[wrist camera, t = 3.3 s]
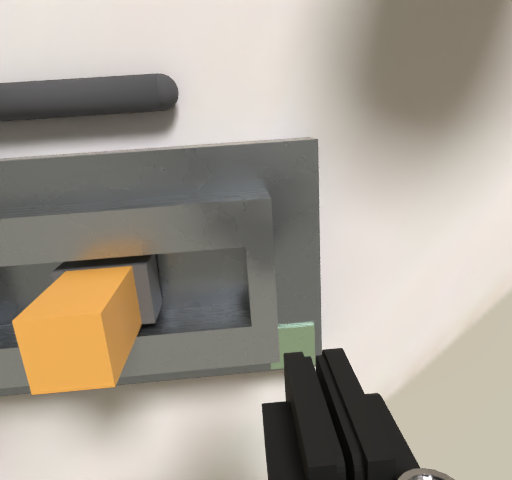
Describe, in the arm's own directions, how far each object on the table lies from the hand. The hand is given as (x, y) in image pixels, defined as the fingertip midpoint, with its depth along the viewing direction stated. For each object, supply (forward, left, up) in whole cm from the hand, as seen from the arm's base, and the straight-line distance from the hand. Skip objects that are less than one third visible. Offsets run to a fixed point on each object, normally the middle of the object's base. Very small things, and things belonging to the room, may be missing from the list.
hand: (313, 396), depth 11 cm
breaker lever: (-1, -8, -9) cm, 12 cm away
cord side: (-9, -11, -11) cm, 18 cm away
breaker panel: (-1, -8, -11) cm, 14 cm away
